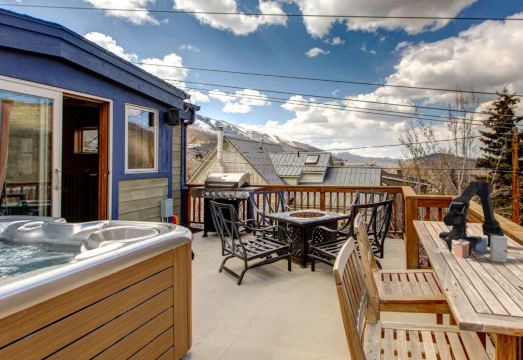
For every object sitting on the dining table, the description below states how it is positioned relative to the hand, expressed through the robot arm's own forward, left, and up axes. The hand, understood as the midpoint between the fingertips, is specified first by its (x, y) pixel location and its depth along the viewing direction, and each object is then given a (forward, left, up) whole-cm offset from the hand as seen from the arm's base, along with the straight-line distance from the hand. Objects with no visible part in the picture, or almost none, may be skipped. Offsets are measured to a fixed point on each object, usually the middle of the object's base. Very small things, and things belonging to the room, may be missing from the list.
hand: (459, 253), depth 168 cm
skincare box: (-6, +15, -2) cm, 16 cm away
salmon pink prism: (-5, 0, -2) cm, 5 cm away
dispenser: (-17, 0, -2) cm, 17 cm away
